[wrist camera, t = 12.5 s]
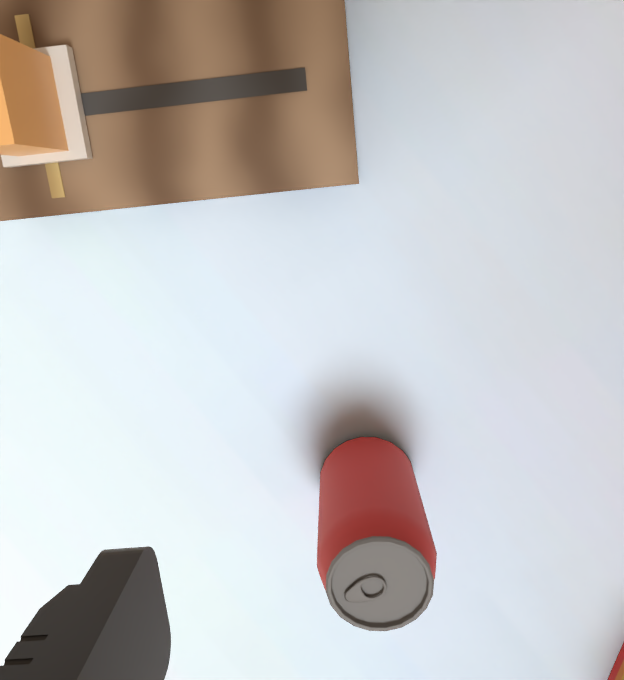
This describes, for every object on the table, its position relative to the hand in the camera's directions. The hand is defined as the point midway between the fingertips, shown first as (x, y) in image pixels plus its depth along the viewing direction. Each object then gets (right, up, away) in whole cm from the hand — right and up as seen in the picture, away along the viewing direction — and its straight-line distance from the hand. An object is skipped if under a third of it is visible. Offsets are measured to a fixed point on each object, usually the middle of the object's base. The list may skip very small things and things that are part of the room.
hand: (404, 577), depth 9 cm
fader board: (-10, +18, +27) cm, 34 cm away
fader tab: (-17, +17, +25) cm, 35 cm away
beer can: (+2, -6, +33) cm, 33 cm away
